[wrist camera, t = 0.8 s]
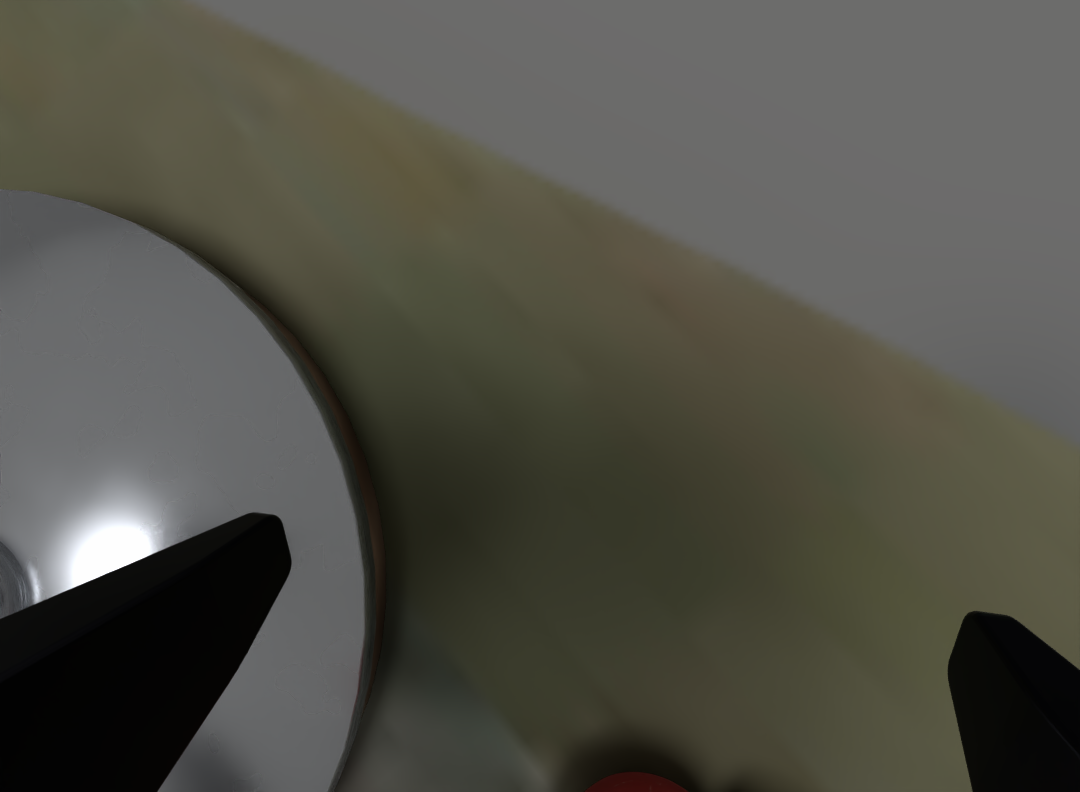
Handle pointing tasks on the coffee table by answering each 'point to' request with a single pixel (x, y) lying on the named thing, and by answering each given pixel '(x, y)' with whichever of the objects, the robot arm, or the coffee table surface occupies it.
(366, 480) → the walnut base
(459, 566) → the coffee table surface
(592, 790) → the kendama
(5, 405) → the handwheel
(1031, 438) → the coffee table surface
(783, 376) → the coffee table surface
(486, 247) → the coffee table surface
